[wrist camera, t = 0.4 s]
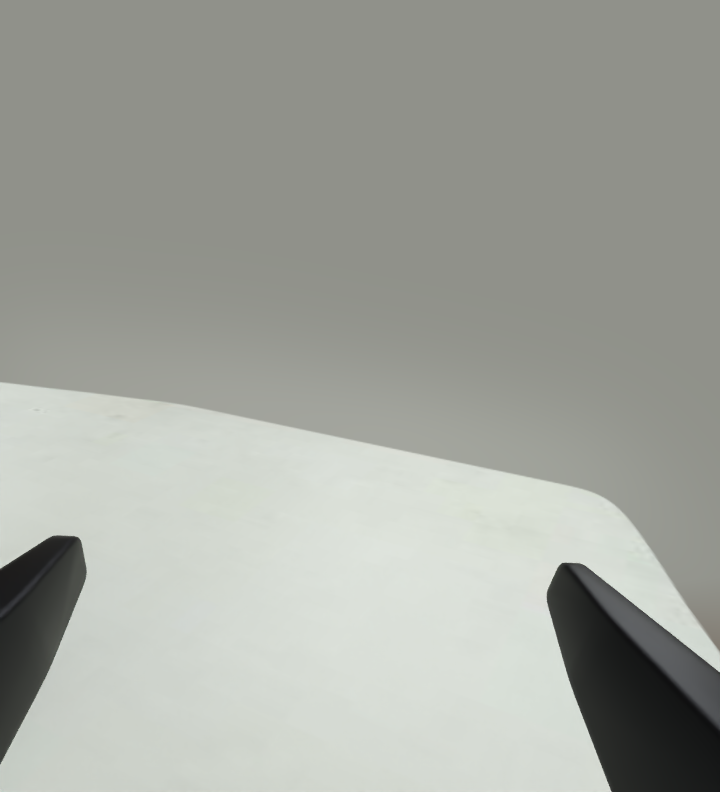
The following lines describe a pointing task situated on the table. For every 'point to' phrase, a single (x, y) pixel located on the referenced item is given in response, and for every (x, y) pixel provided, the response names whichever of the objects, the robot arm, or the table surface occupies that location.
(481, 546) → the table surface
